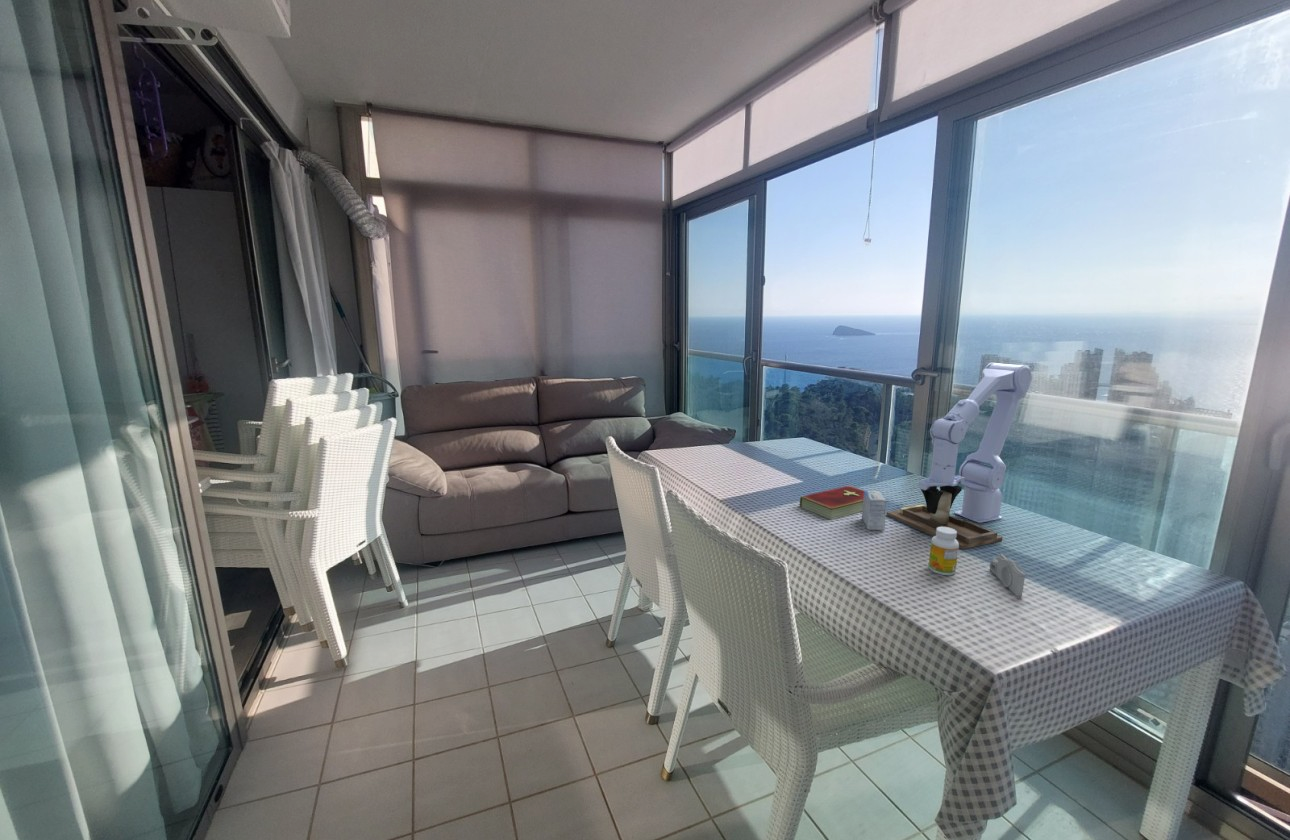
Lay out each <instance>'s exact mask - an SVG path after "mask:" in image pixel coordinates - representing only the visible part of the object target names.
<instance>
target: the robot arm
mask: <svg viewBox="0 0 1290 840" xmlns="http://www.w3.org/2000/svg"><path fill="white" fill-rule="evenodd" d="M981 371H982V372H981V380H980V381H979V382H978V384H977V385H976V386H975V388H974V389H973V390H972V392H971V393H970V394H969V396H968V397H967V398H966V399H960V400H958V402H956V404H955V405H953V407H952V408H951V409H950V410H949V411H948V413H946V415H945V416H944V417H942V418H938V419H935V421H933V423H932V424H931V426H930V429H929V434H930V437H931V445H933V449H932V456H931V467H930V475H929V477H927V478H925V479H922V480H919V481H918V487H917V489H920V490H921V492H922V494H923V498H924V500H925V504H926V506H927V511H928V512H930V513H932V514H936V511H937V507H938V502H939V500H940V497H941V495H942V494H943V492H942V491H946V492H949V493H951V494H952V497H951V505H950V509H952V505H953V503H954V501H955V500H956V498H957V497H958V496H959V494H960V493H961V492H963V499H962V505H961V506H962V507H961V510H957V511H953V514H955V515H958V516H960V517H962V518H965V519H968V520H970V521H973V522H976V523H979V524H981V523H986V522H987V523H988V522H993V521H996V520H1001V519H1003V516H1001V515H1000V514H1001V507H1002V501H1003V495H1002V492H1001V490H1000V488H1002V486H1003V485H1004V483H1005V478H1006V471H1007V466H1006V464H1005V463H1004V461H1003V460H1002V459H1001V457H1000V455H1001V452H1002V450H1003V447H1004V445H1005V441H1006V440H1007V437H1008V435H1009V432H1010V429H1011V426H1012V424H1013V421H1014V419H1015V416H1016V413H1017V411H1018V408H1019V406H1020V403H1021V401H1022V399H1023V398H1025V397H1026V395H1027V393H1028V390H1029V387H1030V384H1031V383H1032V379H1033V375H1032V372H1031V369H1030V367H1029V366H1028V365H1026V364H1010V363H997V362H989V363H987V364H986V366H985V367H984V369H982V370H981ZM993 395H995V397H996V402H995V405H994V407H993V410H992V413H991V414H990V418H989V421H988V422H987V423H988V424H987V426H986V428H985V430H984V434H983V437H982V439H981V441H980V444H979V446H978V450H977V451H975V452H972V453H970V454H968V455H966V458H965V459H964V460H963V461H964V462H963V463H962V464H961V465H960V467H959V470H958V474H957V475H956V472H957V471H956V470H957V469H956V468H957V462H958V461H957V460H958V454H959V453H958V451H959V443H961V442H962V441H963V440H964V439H965V436H966V433H967V431H968V428H969V425H970V424H971V423H972V422H973V421H974V420H975V419H976V418H977V416H979V414H980V412H981V410H980V406H982V404H984V403H985V402H986V401H988V399H990V397H991V396H993ZM958 484H959V485H964V490H963V487H962V486H959V485H958ZM938 487H939V488H938ZM962 490H963V491H962Z"/></svg>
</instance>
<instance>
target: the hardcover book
mask: <svg viewBox="0 0 1290 840" xmlns="http://www.w3.org/2000/svg"><path fill="white" fill-rule="evenodd" d="M864 491H865V490H863V489H861V488H859V487H855V486H851V485H845V486H842V487H841V486H840V487H836V488H832V489H828V490H827V489H826V490H824V491H820V492H815V493H811V494H806V495H801V496H800V499H799V507H800V508H802V509H804V510H807V511H809V512H812V513H815V514H816V515H818V516H821V517H823V518H826V519H828V520H834V519H838V518H842V517H845V516H849V515H854V514H857V513H860V512H861V513H862V509H863V496H864Z"/></svg>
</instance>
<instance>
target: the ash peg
mask: <svg viewBox="0 0 1290 840" xmlns="http://www.w3.org/2000/svg"><path fill="white" fill-rule="evenodd" d="M942 492H943V494H942V495H941V497H940V500H939V502H938V507H937V511H936V514H932V513H930V519H931V520H933V521H936V522H938V523H940V524H948V522H949V515H951V508H950V505H951V497H952V494H951V493H949V492H946V491H942Z"/></svg>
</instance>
